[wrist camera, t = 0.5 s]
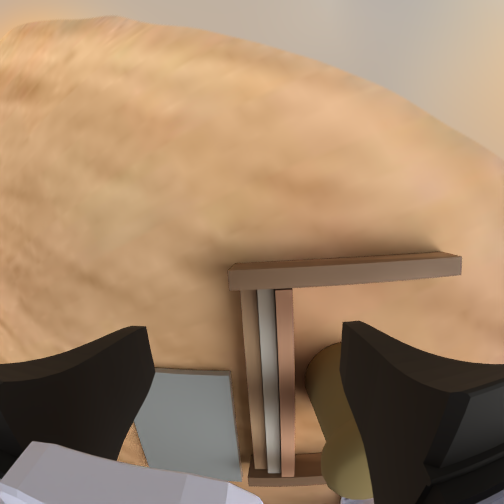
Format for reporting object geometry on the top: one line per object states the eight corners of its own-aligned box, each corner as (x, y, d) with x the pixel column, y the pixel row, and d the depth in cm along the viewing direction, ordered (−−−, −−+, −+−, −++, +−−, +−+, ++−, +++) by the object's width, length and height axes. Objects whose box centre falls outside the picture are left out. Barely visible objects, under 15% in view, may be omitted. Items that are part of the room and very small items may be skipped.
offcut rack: (413, 447, 22) (423, 467, 19) (252, 463, 23) (248, 486, 20) (441, 251, 20) (461, 256, 17) (235, 263, 21) (227, 270, 18)
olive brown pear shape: (311, 416, 22) (321, 523, 11) (297, 352, 22) (304, 456, 11) (384, 397, 21) (430, 492, 10) (377, 331, 21) (440, 416, 10)
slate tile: (242, 476, 23) (241, 481, 23) (153, 466, 24) (150, 471, 24) (230, 370, 22) (228, 375, 21) (124, 365, 23) (120, 368, 22)
